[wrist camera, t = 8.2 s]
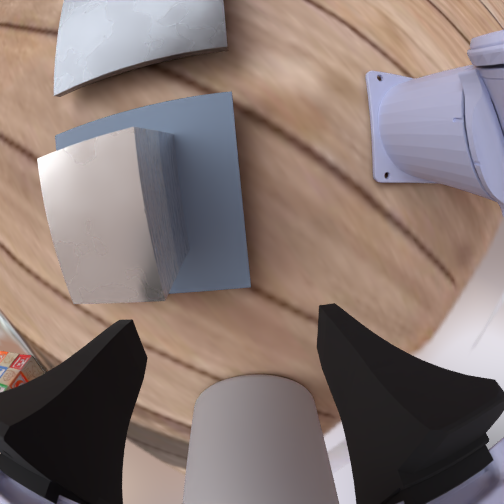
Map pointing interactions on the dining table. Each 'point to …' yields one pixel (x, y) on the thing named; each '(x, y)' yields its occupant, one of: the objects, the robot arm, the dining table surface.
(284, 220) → the dining table surface
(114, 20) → the stand
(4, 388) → the stack of blocks
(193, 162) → the stand
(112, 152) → the block
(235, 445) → the cylinder vase
